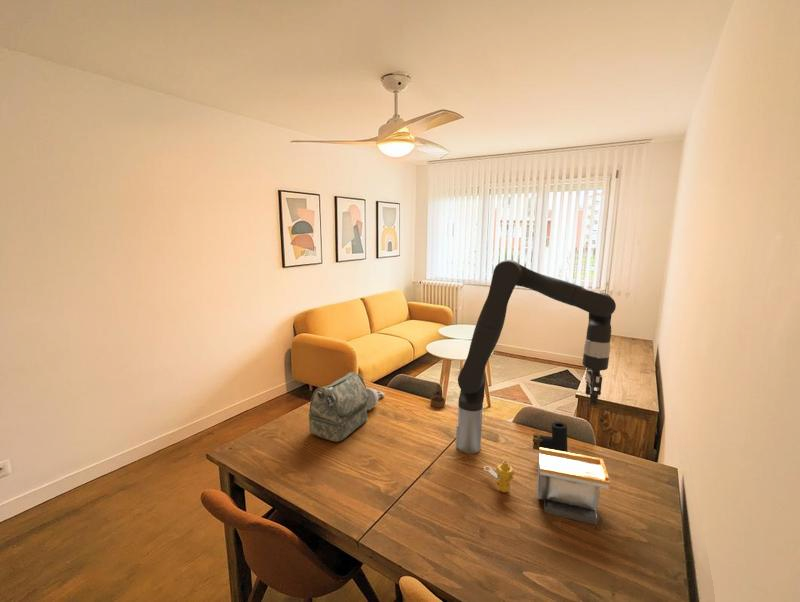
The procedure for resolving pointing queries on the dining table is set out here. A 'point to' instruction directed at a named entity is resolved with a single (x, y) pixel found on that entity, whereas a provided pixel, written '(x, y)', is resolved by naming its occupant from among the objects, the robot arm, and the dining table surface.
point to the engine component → (373, 397)
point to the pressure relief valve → (502, 475)
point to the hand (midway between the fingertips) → (590, 399)
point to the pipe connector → (553, 438)
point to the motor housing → (570, 484)
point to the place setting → (437, 400)
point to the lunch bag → (338, 408)
